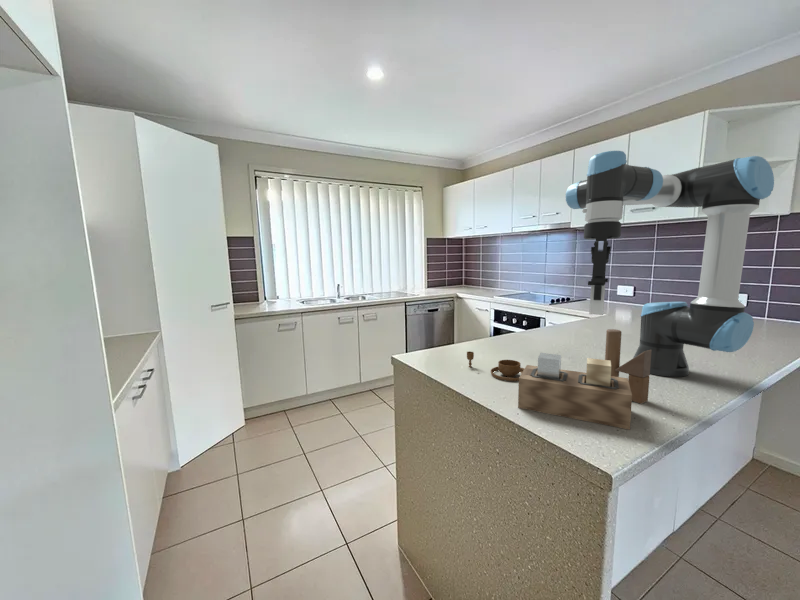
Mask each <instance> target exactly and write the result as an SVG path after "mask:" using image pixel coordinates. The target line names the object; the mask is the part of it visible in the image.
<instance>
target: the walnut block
mask: <svg viewBox="0 0 800 600" xmlns="http://www.w3.org/2000/svg"><path fill="white" fill-rule="evenodd" d="M518 378H519V381H518V397H517V399H518V400H517V402H518V403H517V408H519V409H523V410H528V411H532V412H533V411H534V412H538V413H543V414H547V415H548V414H549V415H555V416H559V417H564V418H568V419H572V420H573V419H574V420H579V421H583V422H589V423H594V424H600V425H603V426H608V427H609V426H610V427H613V428H614V427H615V428H620V429H625V430H631V420H632V419H631V417H632V402H633V401H632V393H631V389H630V385H629V382H628V379H629V377H628V378H627V377H620V376H619V377H614V376H611V381H610V387H609V386H602V385H595V384H589V383H586V372H583V371H576V370H575V371H574V370H568V369H562V368H561V373H560V379H555V378H548V377H541V376H538V365H537V366H536V365H531V364H526V366H525V367H524V370H523V372H522V373H520V375H519V377H518Z"/></svg>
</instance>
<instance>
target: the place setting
mask: <svg viewBox="0 0 800 600" xmlns="http://www.w3.org/2000/svg"><path fill="white" fill-rule="evenodd" d="M474 355H475V353H474V351H466V359H467V360H468V368H472V367H473V366H472V365H473V363H472V361H473V360H474ZM524 369H525V367H521V362H520V361H517V360H514V359H502V360H499V361H498V363H497V366H495V367H492V368H491V369H490V375H491V376H492V377H493V378H495V379H497V380H501V381H504V380H506V381H505V382H519V377H516V376H517V375H518V374H519V372H523V370H524ZM497 370H499V371H497ZM494 371H497V372H499V373H501V375H503V376H501V375H499V374H498V375H497V374H496V373H493V372H494ZM506 376H507V377H506ZM514 376H515V377H514Z"/></svg>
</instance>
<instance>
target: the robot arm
mask: <svg viewBox="0 0 800 600" xmlns="http://www.w3.org/2000/svg"><path fill="white" fill-rule="evenodd" d="M627 162H628V161H627V154H626V153H625V151H623V150H608V151H603V152H599V153H596V154H594V155H592V156H591V157H590V159H589V161H588V166H587V173H586V179H585V180H579V181H577V182H574V183H572V184H570V186H568V187H567V188H566V191H565V202H566V204H567V206H568V207H569V208H571V209H572V210H582V212H581V213H583V214H585V215H584V216H585V217H584V221H585V222H586V223H585V224H584V229H583V239H585V240H589V241H593V240H595V241H594V243H593V245H594V246H591V248H590V254H591V263H592V274H591V280H588V281H587V286H590V294H589V295H590V296H589V315H596V316H603V315H604V310H605V309H604V308H605V307H604V306H605V295H606V293H605V292H606V283H608V282H609V278H606V268H607V263H609V261H610V260H609V258H610V254H611V249H612V246H611V245H610V246H608V245H609V241H608V240H617V239H619V238H621V234H622V233H621V232H622V222H620V221H621V220H622V219H623V212H624V210H623V208H624V206H641V205H653V206H654V207H657V208H700V207H702V208H701V212H702V213H704V214H705V215H706V217H707V220H706V221H707V223H706V230H705V235H704V237H705V239H704V246H703V252H702V253H703V254H702V261H701V269H700V276H699V277H700V278H699V285H698V292H697V293H698V294H697V297H696V298H694V299H693V300H692V301H690V303H689V304H690V305H688V303H687V301H660V302H659V301H658V302H647V303H645V304H643V306H642V307H641V309H642V310H641V314H640V328H639V329H640V331H639V345H638V347H637V349H636V352H635V353H634V355H633V357H632V359H633V358H635V357H636V356H638V355H639V354H641V353H643V352H644V351H648V350H652V351H651V364H650V375H656V376H662V377H673V378H675V377H676V378H679V377H681V378H682V377H686V376H688V375H689V372H690V366H689V364H688V360H687V357H686V355H685V351H684V345H686V346H693V347H696V348H697V347H698V348H704V349H708V350H711V351H713V352H716V351H718V352H724V353H734V352H737V351H739V350H740V349H742V348H743V347H744V346H746V344H747V343H748V342H749V340H750V338H751V336H752V333H753V331H754V326H755V322H754V318H753V316H752V315H751V314H749V313H748V312H745V307H746V306H745V304H743V303H742V302H741V301H740V300H739V295H740V288H741V282H742V274H743V268H744V260H745V251H746V245H747V237H748V232H749V230H748V229H749V225H750V224H749V223H750V217H751V214H752V213H753V212H755V211H756V210H757V209H758V208H759V207H760V203H761V202H760V201H761V200H765V199H767V198H768V197H770V196H771V194H772V192H773V190H774V187H775V176H774V172H773V169H772V166H771V164H770V163H769V162H768V160H767V159H766V158H764V157H762V156H759V155H751V156H746V157H742V158H741V157H737V158H735V159H731V160H726V161H723V162H718V163H715V164H710V165H706V166H702V167H701V166H700V167H695V168H692V169H689V170H684V171H680V172H677V173H671V174H662V172H660V171H659V170H657V169H654V168H651V167H649V166H648V167H647V166H638V165H630V164H627Z"/></svg>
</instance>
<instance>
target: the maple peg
mask: <svg viewBox="0 0 800 600" xmlns="http://www.w3.org/2000/svg"><path fill="white" fill-rule="evenodd" d="M585 373H586V383H589V384H595V385H602V386H609V387H610V381H611V361H609V360H605V359H601V358H598V359H597V358H590V357H587V358H586V372H585Z"/></svg>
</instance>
